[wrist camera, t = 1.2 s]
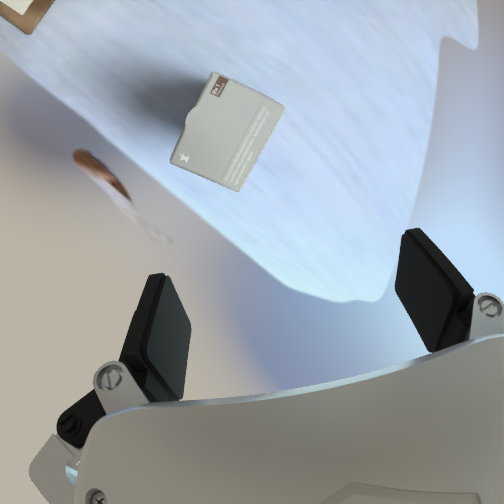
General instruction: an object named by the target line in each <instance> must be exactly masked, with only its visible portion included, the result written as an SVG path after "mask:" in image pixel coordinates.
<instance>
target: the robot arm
mask: <svg viewBox="0 0 504 504" xmlns="http://www.w3.org/2000/svg"><path fill="white" fill-rule="evenodd" d="M395 291H396V293H397V295H398V297H399V299H400V301H401V302H402V304H403V306H404V307H405V309H406V311H407V313H408V314H409V316H410V318H411V320H412V322H413V324H414V325H415V327H416V329H417V331H418V333H419V335H420V337H421V339H422V340H423V342H424V344H425V346H426V348H427V350H428V351H429V352H430V353H431V352H432V353H431V354H428V355H425V356H422V357H419V358H416V359H413V360H410V361H407V362H404V363H401V364H397V365H394V366H391V367H387V368H384V369H380V370H377V371H373V372H369V373H365V374H361V375H358V376H353V377H349V378H345V379H341V380H337V381H332V382H327V383H323V384H317V385H312V386H307V387H301V388H296V389H290V390H284V391H277V392H270V393H263V394H255V395H248V396H239V397H228V398H215V399H203V400H188V401H179V399H182V398H183V393H184V384H185V375H186V367H187V359H188V351H189V344H190V337H191V324H190V321H189V319H188V316H187V314H186V312H185V310H184V308H183V305H182V303H181V301H180V299H179V297H178V294H177V292H176V290H175V288H174V285H173V283H172V281H171V278H170V277H169V276H165V274H164V273H158V274H152V275H149V277H148V279H147V282H146V284H145V287H144V290H143V292H142V295H141V298H140V301H139V304H138V307H137V310H136V311H135V312H134V315H133V318H132V321H131V323H130V326H129V330H128V333H127V336H126V339H125V342H124V345H123V348H122V351H121V355H120V358H119V361H111V362H107V363H105V364H103V365H102V366H101V367H100V368H99V369H98V370H97V371H96V373H95V375H94V378H93V386H94V389H93V390H92V391H91V392H89V393H88V394H87V395H86V396H84V397H83V398H81V399H80V400H79V401H78V402H76V403H75V404H74V405H72V406H71V407H70V408H68V409H67V410H66V411H64V412H63V413H62V414H61V415H60V417H59V419H58V422H57V435H54V434H52V436H51V437H50V438H49V439H48V441H47V442H46V443H45V445H44V446H43V447H42V449H41V450H40V451H39V453H38V454H37V455H36V457H35V458H34V459H33V461H32V462H31V464H30V467H29V475H30V478H31V480H32V481H33V483H34V484H35V486H36V487H37V488H38V490H39V491H40V492H41V494H42V495H43V496H44V497H45V499H46V500H47V501H48V502H49V503H50V504H504V304H503V302H502V301H501V300H500V298H498V297H497V296H495V295H494V294H491V293H486V292H485V293H480V294H478V295H477V296H475V295H474V294H473V291H474V289H473V288H472V287H471V286H470V285H469V283H468V282H467V281H466V280H465V278H464V277H463V276H462V275H461V273H460V272H459V271H458V270H457V269H456V268H455V267H454V265H453V264H452V263H451V262H450V261H449V259H448V258H447V257H446V256H445V255H444V254H443V253H442V251H441V250H440V249H439V248H438V247H437V246H436V245H435V244H434V243H433V242H432V241H431V240H430V239H429V238H428V236H427V235H426V234H425V233H424V232H423V231H422V230H421V229H420V228H414V229H409V230H406V231H405V234H403V235H402V237H401V246H400V254H399V261H398V269H397V275H396V281H395Z"/></svg>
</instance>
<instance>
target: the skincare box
mask: <svg viewBox="0 0 504 504" xmlns="http://www.w3.org/2000/svg"><path fill="white" fill-rule="evenodd" d="M284 110H285V106H283V105H282V104H280V103H278V102H276V101H275V100H273V99H271V98H269V97H267V96H265V95H264V94H262V93H260V92H258V91H256V90H254V89H252V88H250V87H247V86H245V85H243V84H241V83H239V82H237V81H235V80H232V79H230V78H228V77H226V76H223V75H221V74H219V73H216V72H212V73H211V75H210V77H209V79H208V81H207V83H206V85H205V86H204V88H203V90H202V92H201V94H200V96H199V98H198V100H197V102H196V104H195V106H194V108H192V109H191V111H190V112H189V113H188V115H187V117H186V120H185V127H184V129H183V131H182V133H181V135H180V137H179V140H178V142H177V144H176V146H175V149H174V151H173V153H172V156H171V158H170V163H171V164H173V165H175V166H177V167H180V168H182V169H185V170H187V171H189V172H192V173H194V174H197V175H199V176H201V177H204V178H206V179H209V180H211V181H213V182H216V183H218V184H220V185H223V186H225V187H227V188H229V189H232V190H234V191H236V192H239V191H240V189H241V188H242V186H243V184H244V182H245V181H246V179H247V177H248V175H249V173H250V172H251V170H252V168H253V166H254V164H255V163H256V161H257V159H258V157H259V156H260V154H261V152H262V150H263V149H264V147H265V145H266V143H267V141H268V139H269V138H270V136H271V134H272V132H273V130H274V129H275V127H276V125H277V123H278V121H279V120H280V118H281V116H282V114H283V112H284Z"/></svg>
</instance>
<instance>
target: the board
mask: <svg viewBox="0 0 504 504" xmlns="http://www.w3.org/2000/svg"><path fill="white" fill-rule="evenodd" d="M54 1H55V0H33V1H32V3H31V4H30V5H29V7H28V8H27V10H26V11H25V13H24V14H23V15H21V14H19V13H18V12H16V11H15V10H13V9H12V8H10V7H9V6H7V5H6V4H4V3H3V2H1V1H0V15H2V16H3V17H4V18H6V19H7V20H9V21H10V22H11V23H13V24H14V25H16V26H17V27H18V28H20V29H21V30H22V31H24V32H25V33H26V34H32V32H33V31H34V29H35V27H36V26H37V24H38V23H39V22H40V20H41V19H42V17H43V16H44V14H45V13H46V12H47V10H48V9H49V8H50V6H51V5H52V4H53V2H54Z"/></svg>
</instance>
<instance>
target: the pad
mask: <svg viewBox="0 0 504 504" xmlns="http://www.w3.org/2000/svg"><path fill="white" fill-rule="evenodd" d="M0 1H1V2H3V3H4V4H6V5H7V6H9V7H10V8H12V9H13V10H15V11H16V12H18V13H19V14H21V15H23V14H24V13H25V11H26V10H27V8H28V7H29V5H30V4H31V3H32V1H33V0H0Z"/></svg>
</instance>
